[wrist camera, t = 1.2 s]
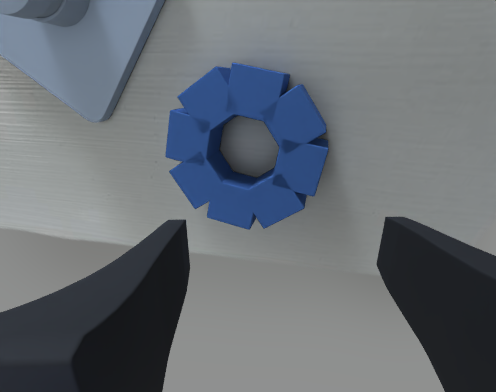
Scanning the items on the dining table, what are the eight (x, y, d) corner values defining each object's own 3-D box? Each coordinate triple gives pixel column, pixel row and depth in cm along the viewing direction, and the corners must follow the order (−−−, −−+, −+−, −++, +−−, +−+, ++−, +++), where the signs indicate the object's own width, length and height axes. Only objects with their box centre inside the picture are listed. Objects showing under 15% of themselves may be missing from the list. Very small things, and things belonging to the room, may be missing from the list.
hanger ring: (344, 86, 20) (347, 86, 17) (303, 227, 24) (300, 245, 21) (194, 54, 21) (175, 50, 19) (177, 191, 25) (160, 204, 22)
